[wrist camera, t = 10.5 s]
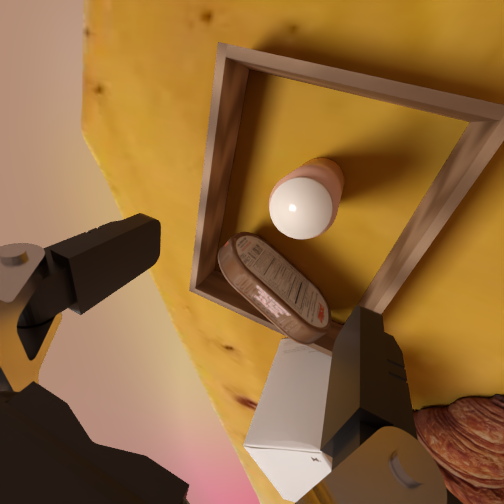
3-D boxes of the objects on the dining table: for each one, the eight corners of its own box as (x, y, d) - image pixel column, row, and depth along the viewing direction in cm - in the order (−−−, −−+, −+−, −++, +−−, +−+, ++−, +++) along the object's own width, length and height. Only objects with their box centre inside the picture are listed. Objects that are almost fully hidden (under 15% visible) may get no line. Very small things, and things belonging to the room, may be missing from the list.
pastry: (530, 483, 32) (574, 576, 26) (398, 464, 40) (406, 532, 33) (510, 391, 28) (558, 474, 21) (366, 389, 35) (368, 450, 29)
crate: (243, 57, 23) (218, 41, 19) (488, 113, 19) (525, 109, 15) (208, 271, 36) (189, 290, 32) (347, 333, 32) (346, 364, 28)
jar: (303, 151, 25) (276, 163, 17) (353, 166, 24) (349, 187, 16) (288, 198, 27) (258, 228, 19) (332, 213, 26) (320, 252, 18)
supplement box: (279, 337, 37) (238, 445, 25) (337, 326, 32) (323, 452, 20) (306, 381, 39) (281, 501, 26) (364, 377, 34) (367, 520, 22)
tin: (235, 235, 32) (201, 265, 25) (249, 218, 30) (216, 246, 23) (320, 312, 32) (310, 363, 25) (339, 300, 31) (333, 352, 24)
